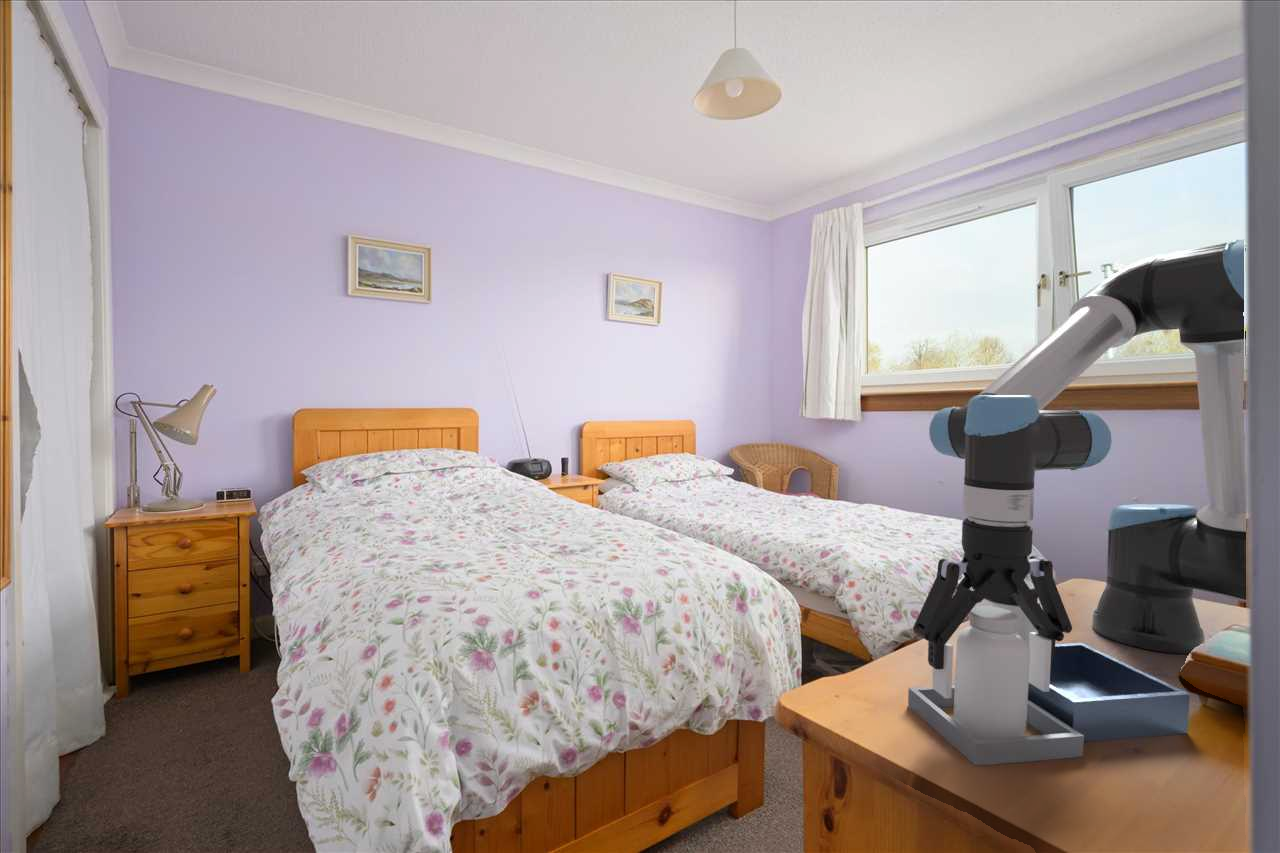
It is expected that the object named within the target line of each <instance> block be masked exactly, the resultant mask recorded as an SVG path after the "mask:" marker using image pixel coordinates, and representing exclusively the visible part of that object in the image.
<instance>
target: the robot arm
mask: <svg viewBox="0 0 1280 853" xmlns="http://www.w3.org/2000/svg"><path fill="white" fill-rule="evenodd" d="M1244 240H1245V239H1235V240H1232V241H1228V242H1223V243H1218V244H1213V245H1209V246H1203V247H1198V248H1192V249H1187V250H1183V251H1182V250H1181V251H1175V252H1171V253H1164V254H1157V255H1153V256H1150V257H1147V258H1145V259H1141V260H1139V261H1137V262H1134V263H1132V264H1130V265H1128V266H1126V267H1125V268H1123V269H1120V270H1119V271H1117V272H1116V273H1113V274H1112V275H1111V276H1109V277H1108V278H1106V279H1104V280H1103V281H1101V282H1100V283H1098V284H1097V285H1096V286H1094V287H1093V288H1092V289H1090V290H1089V291H1087V293H1085V294H1084V295H1083V296H1082V297H1080V298H1079V299H1078V300H1077V301H1076V302H1074V304H1073V305H1072V307H1071V309H1070V310H1069V311H1070V312H1069V316H1068V317H1067V318H1066V319H1064V321H1062V322H1061V323H1060V324H1059V325H1057V327H1056V328H1054V329H1053V330H1052V331H1050V333H1049V334H1047V335H1046V336H1045V337H1044V338H1043V339H1041V340H1040V341H1039V342H1038V343H1037V344H1035V345H1034V347H1032V348H1031V349H1030V350H1029V351H1028V352H1026V353H1025V354H1024V355H1023V356H1022V357H1020V358H1019V359H1018V360H1017V361H1016V362H1015V363H1014V364H1013V365H1012V366H1010V367H1009V368H1008V369H1006V371H1004V372H1003V373H1002V374H1001V375H999V376H998V377H997V378H995V380H993V382H991V383H990V384H989V385H988V386H987V387H985V388H984V389H983V390H982V391H981V392H980V393H979V394H978V395H974V396H972V397H971V398H970V399H969V401H968V403H967V404H966V405H964V406H959V405H958V406H952V407H945V408H943V409H940V410H939V411H937V412H936V413H935V414H934V416H933V417H932V419H931V420H930V424H929V428H928V429H929V430H928V434H929V439H930V442H931V444H932V446H933V447H934V449H935V450H936V451H937V452H938V453H940V454H941V455H944V456H949V457H954V458H958V459H962V460H964V477H963V478H964V479H963V482H964V483H963V489H962V490H963V491H962V492H963V493H962V494H963V495H962V512H961V513H962V514H963V515H964V516H966V518H964V520H962V521H961V522H962V524H961V546H962V549H963V557H962V560H961V561H951V560H948V559H946V558H940V559H939V561H938V564H937V572H936V577H935V579H934V582H933V584H932V585H931V586H932V587H931V588H930V590H929V592H928V594H927V596H926V599H925V601H924V603H923V605H922V608H921V609H920V612H919V614H918V616H917V618H916V621H915V622H914V625H913V626H912V629H913V632H914V634H915V633H916V634H917V635H918V636H919V637H922V638H923V640H926V641H928V644H927V645H928V648H927V650H928V651H927V663H928V665H929V666H930V667H932V684H931V686H932V688H933V689H934V690H935V691H937V692H938V693H939V694H941V695H942V696H943V697H944V698H951V694H952V685H953V662H954V660H953V659H954V658H953V657H954V645H952V644H951V643H950V642H949V640H950V639H951V638H952V637H953V635H954V633H955V632H956V631H957V630H958V628H959V627H960V626H961V625H962V623H963V622H964V620H965V619H966V618H967V617H968V615H970V611H971V610H972V608H973V607H975V605H976V603H979V602H981V601H982V600H983V599H984V598H985V596H986V597H988V598H992V597H997V596H1004V597H1011V596H1012V597H1013V599H1014V600H1015V601H1016V603H1017V604H1018V605H1019V607H1020V608H1021V610H1022V611H1023V612H1024V614H1025V615H1026V616H1027V618H1028V619H1029V621H1030V622H1031V623H1032V625H1033V626H1034V627H1035V629H1036V630H1037V631H1038V633H1036V632H1030V635H1029V650H1030V667H1029V683H1030V684H1032V685H1033V686H1035V687H1037V688H1038V689H1040V690H1042V691H1043V692H1049V688H1050V665H1051V662H1053V661H1054V659H1055V644H1056V641H1057V642H1062V641H1063V640H1064V638H1065V635H1064V633H1066V634H1069V633H1071V632H1072V630H1073V625H1072V623H1071V620H1070V618H1069V615H1068V613H1067V611H1066V608H1065V606H1064V602H1063V600H1062V597H1061V594H1060V593H1059V590H1058V587H1057V584H1056V582H1055V579H1054V571H1053V569H1054V568H1053V566H1054V565H1053V562H1052V561H1051V560H1048V559H1046V558H1043V557H1039V556H1038V555H1034V554H1033V555H1031V554H1032V551H1033V531H1034V530H1033V529H1034V528H1033V527H1032V526H1031V525H1030V524H1029V522H1031V521H1032V520H1033V519H1034V498H1035V497H1034V495H1035V482H1036V481H1035V476H1036V471H1050V470H1051V471H1052V470H1053V471H1055V470H1070V471H1077V470H1078V469H1083V468H1091V467H1094V466H1095V465H1098V464H1099V463H1101V462H1102V461H1103V460H1104V459H1105V458H1106V457H1107V455H1108V454H1109V452H1110V450H1111V446H1112V441H1113V440H1112V433H1111V430H1110V427H1109V426H1108V424H1107V423H1106V422H1105V421H1104V419H1103V418H1101V417H1100V416H1099V415H1097V414H1095V413H1093V412H1090V411H1086V410H1078V409H1065V410H1046V409H1045V410H1044V408H1045V407H1047V405H1049V404H1050V402H1052V401H1053V400H1054V399H1055V398H1056V397H1057V396H1058V395H1060V394H1061V393H1062V392H1063V391H1064V390H1065V389H1066V388H1067V387H1069V385H1071V384H1072V383H1073V382H1074V381H1075V380H1077V378H1078V377H1080V376H1081V375H1082V374H1083V373H1084V372H1085V371H1087V369H1089V368H1090V366H1092V365H1093V364H1094V363H1095V362H1096V361H1098V359H1100V358H1101V357H1102V356H1103V355H1104V354H1105V353H1107V351H1109V350H1110V349H1111V348H1118V347H1120V346H1123V345H1125V344H1127V343H1128V342H1130V341H1131V340H1132V339H1133V338H1134V337H1137V336H1138V335H1142V334H1146V333H1149V332H1155V331H1165V330H1166V331H1167V330H1168V331H1169V330H1170V331H1171V330H1179V340H1180V341H1179V342H1180V344H1181V345H1182V346H1184V347H1185V348H1187V349H1188V350H1190V351H1192V352H1193V353H1194V359H1195V370H1196V371H1195V372H1196V380H1197V381H1196V382H1197V393H1198V402H1199V403H1198V404H1199V405H1198V406H1199V413H1200V414H1199V416H1200V427H1201V428H1200V429H1201V439H1202V449H1203V450H1202V451H1203V462H1204V464H1203V465H1204V471H1205V473H1204V474H1205V485H1206V486H1205V487H1206V497H1207V504H1206V505H1205V506H1203V507H1202V508H1201V509H1199V510H1198V508H1197V507H1196V506H1193V505H1187V504H1170V503H1169V504H1168V503H1167V504H1165V503H1145V504H1144V503H1143V504H1141V503H1140V504H1138V503H1137V504H1122V505H1117V506H1116V507H1114V508H1113V509H1112V510H1111V512H1110V515H1109V523H1108V527H1107V532H1108V533H1107V535H1108V536H1107V559H1106V560H1107V562H1106V581H1105V582H1106V584H1105V588H1104V589H1103V592H1102V595H1100V599H1099V601H1098V603H1097V606H1096V609H1094V611H1093V613H1092V622H1091V625H1092V629H1093V630H1094V631H1095V632H1097V633H1098V634H1100V635H1102V636H1103V637H1106V638H1108V639H1110V640H1112V641H1116V642H1118V643H1121V644H1125V645H1128V646H1132V647H1135V648H1140V649H1144V650H1149V651H1154V652H1163V653H1167V654H1168V653H1169V654H1170V653H1171V654H1192V653H1191V651H1192V650H1193V649H1194V648H1195V647H1197V646H1199V645H1200V644H1202V643H1204V644H1205V639H1206V638H1205V637H1206V636H1205V632H1204V630H1203V628H1202V627H1201V624H1200V620H1199V617H1198V613H1197V608H1196V606H1195V604H1194V603H1195V602H1194V599H1193V596H1194V595H1193V594H1194V590H1196V591H1201V592H1204V593H1209V594H1211V595H1216V596H1219V597H1224V598H1228V599H1231V600H1236V601H1240V602H1242V603H1247V600H1246V475H1245V435H1244V412H1243V399H1244V316H1243V312H1244ZM1245 247H1246V245H1245ZM1245 251H1246V248H1245ZM1245 356H1246V331H1245ZM1030 555H1031V556H1030ZM1029 556H1030V557H1029ZM1028 557H1029V558H1028ZM963 575H964V576H963ZM1028 575H1029V577H1030V581H1031V582H1032V583H1033V585H1034V588H1035V590H1036V593H1037V595H1038V600H1039V601H1038V600H1037V601H1038V602H1040V605H1039V604H1038V602H1037V601H1036V600H1035V598H1034V597H1033V595H1032V594H1033V592H1032V591H1031V590H1030V588H1029V587H1028V585H1027V584H1026V583H1025V581H1024V579H1025V580H1026V577H1027V576H1028ZM959 580H960V582H959ZM958 582H959V583H958ZM971 588H972V589H973V590H972V589H971ZM955 591H956V592H955ZM1247 604H1248V603H1247Z"/></svg>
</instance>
